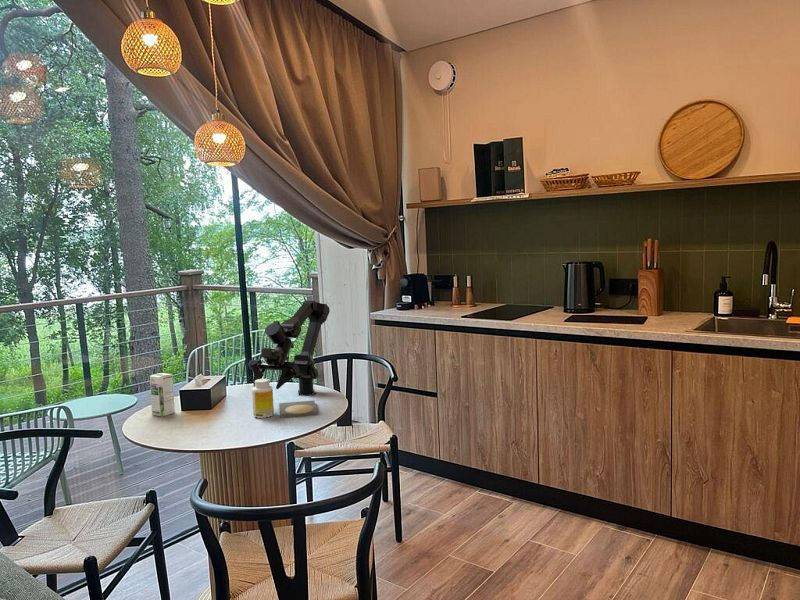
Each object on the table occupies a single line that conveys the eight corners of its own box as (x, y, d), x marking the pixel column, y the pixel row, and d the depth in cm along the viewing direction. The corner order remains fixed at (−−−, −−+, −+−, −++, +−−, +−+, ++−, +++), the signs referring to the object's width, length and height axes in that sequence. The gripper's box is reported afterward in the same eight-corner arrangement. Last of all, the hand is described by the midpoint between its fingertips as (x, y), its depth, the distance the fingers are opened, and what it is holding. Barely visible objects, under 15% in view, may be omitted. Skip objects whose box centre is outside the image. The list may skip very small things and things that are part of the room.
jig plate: (279, 406, 217) (279, 402, 216) (314, 403, 219) (314, 399, 219) (279, 418, 202) (279, 414, 201) (317, 415, 204) (317, 411, 204)
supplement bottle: (277, 416, 205) (275, 380, 203) (259, 420, 200) (257, 383, 199) (268, 411, 210) (266, 376, 209) (250, 415, 206) (248, 380, 204)
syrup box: (151, 415, 210) (148, 375, 208) (164, 410, 215) (162, 372, 213) (162, 417, 207) (159, 377, 205) (175, 412, 212) (173, 373, 211)
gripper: (249, 337, 213) (232, 374, 203) (294, 339, 206) (279, 377, 197) (262, 355, 221) (246, 390, 211) (306, 357, 214) (292, 394, 205)
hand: (265, 387), depth 206 cm, fingers open, 9 cm apart
